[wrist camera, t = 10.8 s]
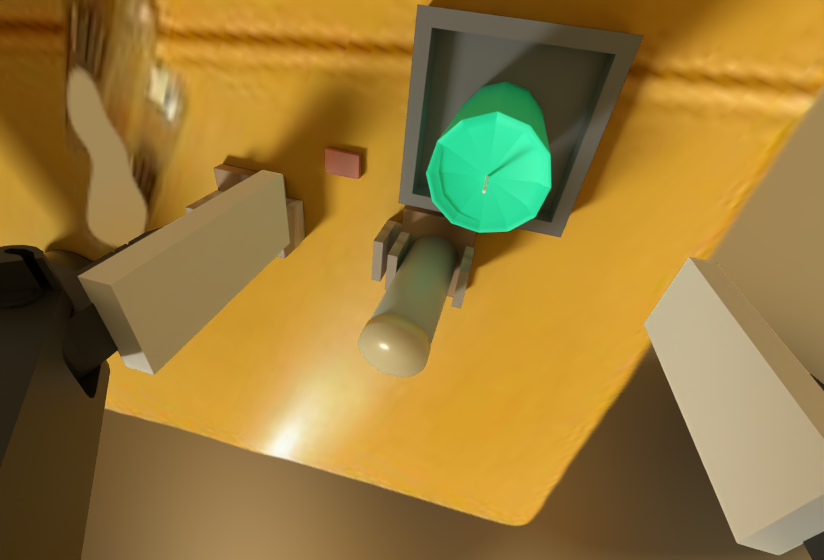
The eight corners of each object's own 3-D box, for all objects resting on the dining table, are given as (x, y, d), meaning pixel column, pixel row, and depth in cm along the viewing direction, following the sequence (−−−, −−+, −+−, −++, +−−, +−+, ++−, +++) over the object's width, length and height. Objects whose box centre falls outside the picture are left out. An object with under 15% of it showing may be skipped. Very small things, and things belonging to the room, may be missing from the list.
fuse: (405, 269, 34) (355, 363, 25) (413, 227, 32) (361, 315, 22) (452, 284, 34) (419, 385, 24) (464, 242, 31) (433, 338, 22)
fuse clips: (235, 237, 39) (201, 262, 35) (211, 124, 32) (166, 139, 28) (463, 292, 36) (455, 327, 32) (492, 179, 29) (486, 205, 25)
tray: (407, 190, 31) (398, 203, 29) (427, 5, 23) (417, 4, 21) (557, 221, 29) (560, 237, 27) (631, 34, 22) (643, 35, 20)
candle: (563, 117, 24) (588, 178, 15) (504, 186, 28) (494, 270, 19) (492, 60, 24) (470, 87, 14) (440, 139, 27) (396, 203, 18)
